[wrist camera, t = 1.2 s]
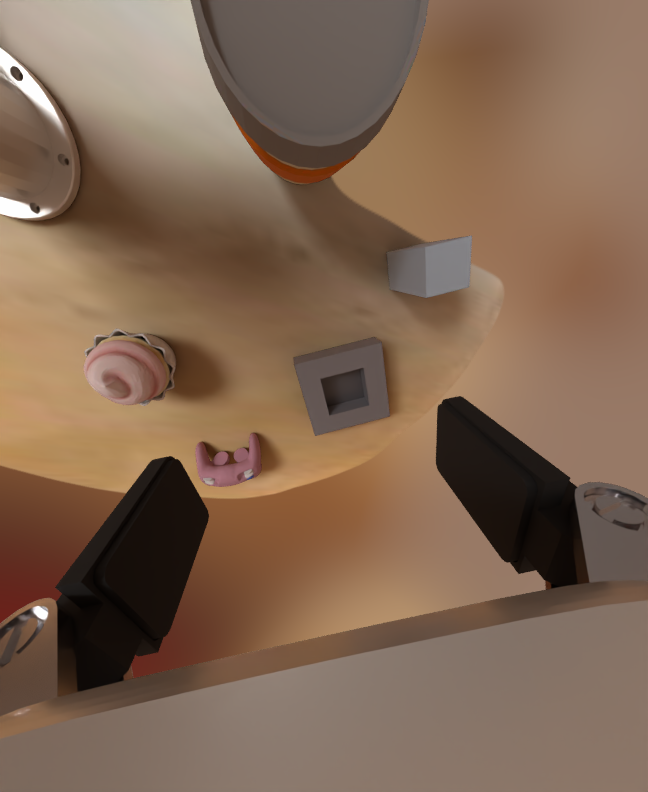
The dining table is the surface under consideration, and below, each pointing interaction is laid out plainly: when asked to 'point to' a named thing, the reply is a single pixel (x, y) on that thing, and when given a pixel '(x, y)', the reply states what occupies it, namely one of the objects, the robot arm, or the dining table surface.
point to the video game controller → (230, 474)
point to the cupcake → (130, 367)
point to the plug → (431, 267)
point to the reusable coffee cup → (309, 74)
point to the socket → (344, 385)
